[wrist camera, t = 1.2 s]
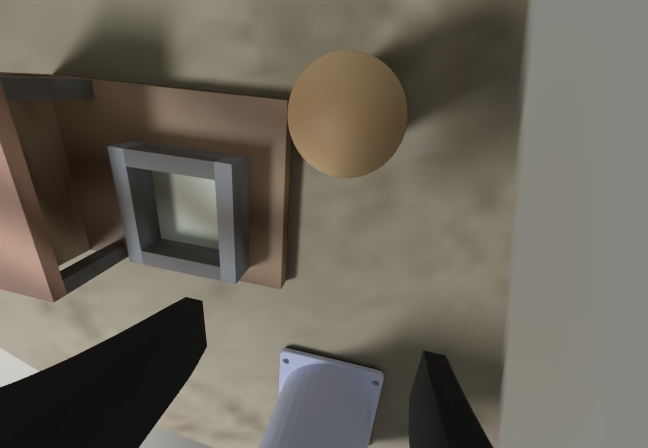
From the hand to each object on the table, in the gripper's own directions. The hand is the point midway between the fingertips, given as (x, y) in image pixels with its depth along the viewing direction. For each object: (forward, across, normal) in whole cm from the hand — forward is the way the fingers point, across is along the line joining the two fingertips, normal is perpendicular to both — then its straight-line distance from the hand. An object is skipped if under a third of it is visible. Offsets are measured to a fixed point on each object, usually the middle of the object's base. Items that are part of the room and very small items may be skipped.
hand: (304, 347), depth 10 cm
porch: (+10, +12, -1) cm, 16 cm away
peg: (+11, 0, -7) cm, 12 cm away
